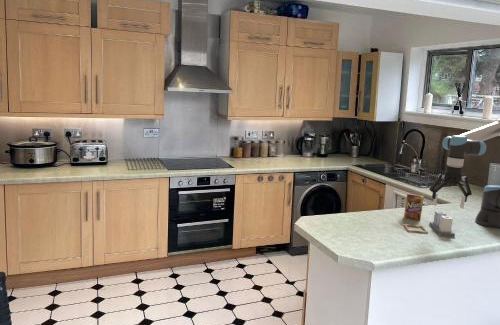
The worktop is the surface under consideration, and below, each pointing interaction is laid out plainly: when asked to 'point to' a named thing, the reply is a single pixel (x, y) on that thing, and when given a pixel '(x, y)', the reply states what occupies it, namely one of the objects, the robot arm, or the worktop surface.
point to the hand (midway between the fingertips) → (447, 206)
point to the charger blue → (438, 217)
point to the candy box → (413, 206)
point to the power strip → (445, 234)
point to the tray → (415, 230)
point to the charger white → (445, 224)
